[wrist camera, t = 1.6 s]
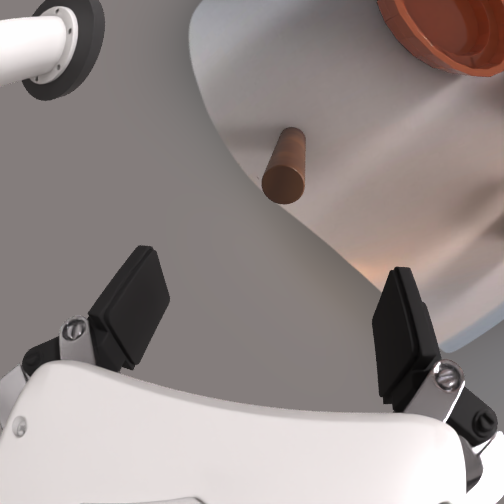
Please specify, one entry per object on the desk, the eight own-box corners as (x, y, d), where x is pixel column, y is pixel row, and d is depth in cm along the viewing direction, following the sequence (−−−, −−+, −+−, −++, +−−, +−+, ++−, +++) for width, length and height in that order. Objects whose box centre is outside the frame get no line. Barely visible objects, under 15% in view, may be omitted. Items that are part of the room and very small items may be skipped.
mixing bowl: (376, 54, 22) (392, 51, 17) (368, -54, 13) (379, -74, 8) (488, 89, 19) (515, 96, 15) (482, -13, 10) (507, -19, 5)
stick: (279, 151, 31) (261, 203, 20) (279, 126, 29) (260, 164, 18) (305, 152, 31) (303, 206, 20) (305, 127, 29) (305, 166, 18)
